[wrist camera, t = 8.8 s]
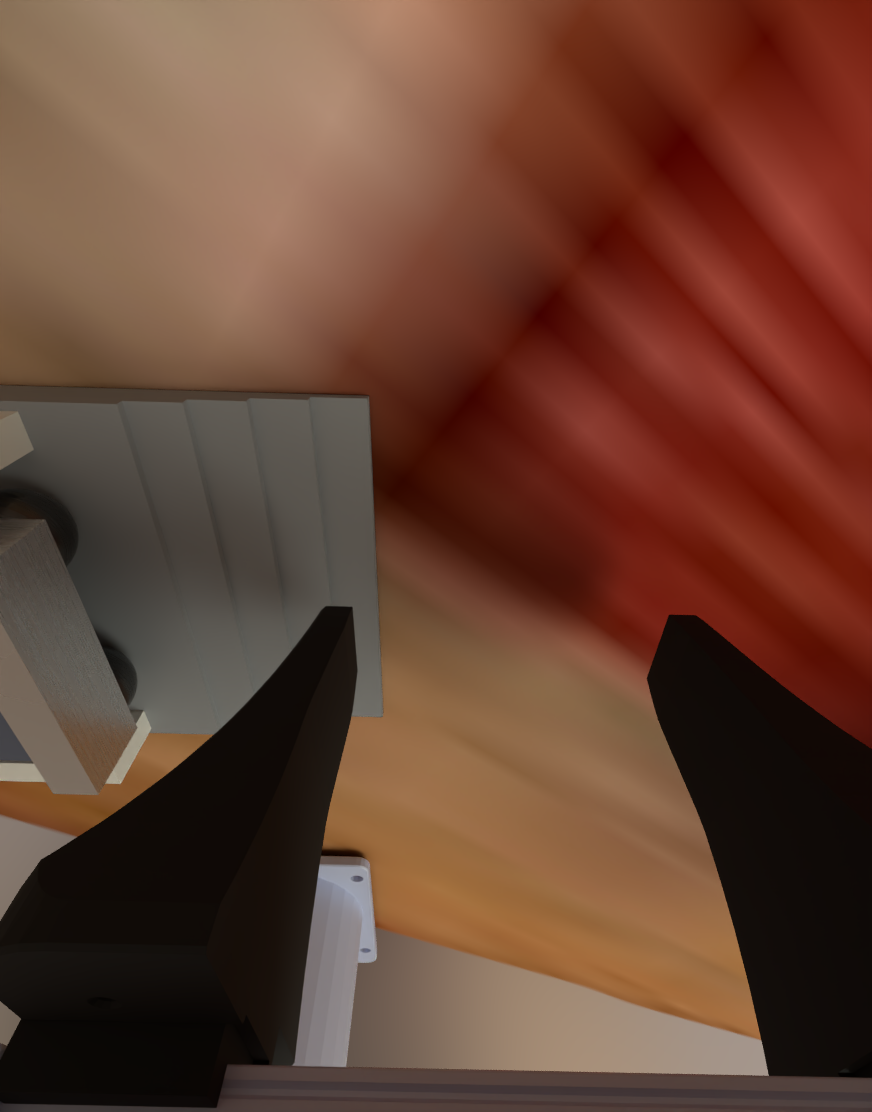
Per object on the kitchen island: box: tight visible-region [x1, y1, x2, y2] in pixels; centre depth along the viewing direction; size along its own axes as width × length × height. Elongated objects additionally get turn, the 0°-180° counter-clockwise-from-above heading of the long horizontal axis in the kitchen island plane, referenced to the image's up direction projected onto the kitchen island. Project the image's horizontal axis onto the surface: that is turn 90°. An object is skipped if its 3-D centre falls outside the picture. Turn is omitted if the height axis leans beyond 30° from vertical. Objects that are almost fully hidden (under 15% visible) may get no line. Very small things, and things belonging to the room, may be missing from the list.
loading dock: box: [0, 385, 383, 784], centre depth 12 cm, size 10×16×4 cm, turn 89°
